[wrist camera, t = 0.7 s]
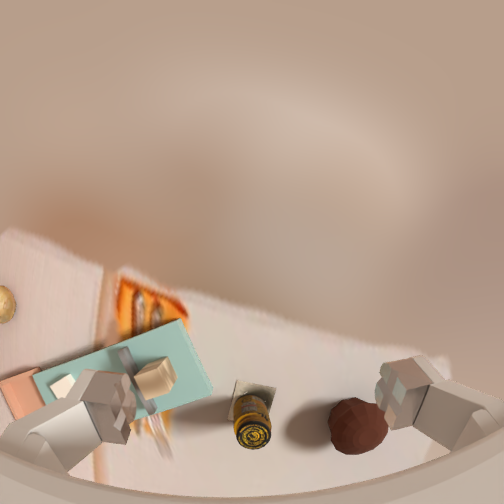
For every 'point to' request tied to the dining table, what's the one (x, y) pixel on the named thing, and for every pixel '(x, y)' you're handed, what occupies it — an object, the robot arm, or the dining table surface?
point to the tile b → (63, 386)
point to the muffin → (357, 426)
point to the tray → (22, 393)
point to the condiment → (251, 414)
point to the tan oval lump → (6, 304)
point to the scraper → (149, 378)
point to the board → (143, 352)
